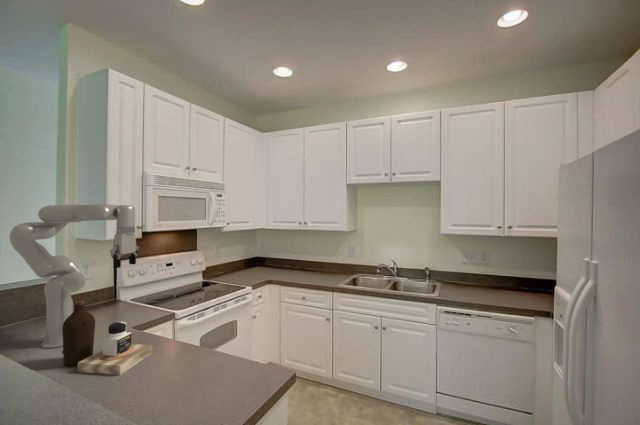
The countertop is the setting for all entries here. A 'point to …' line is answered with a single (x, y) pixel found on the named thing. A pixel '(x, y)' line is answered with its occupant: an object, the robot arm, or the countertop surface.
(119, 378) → the countertop surface
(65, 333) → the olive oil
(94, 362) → the stand
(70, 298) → the robot arm
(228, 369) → the countertop surface
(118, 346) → the medicine bottle
